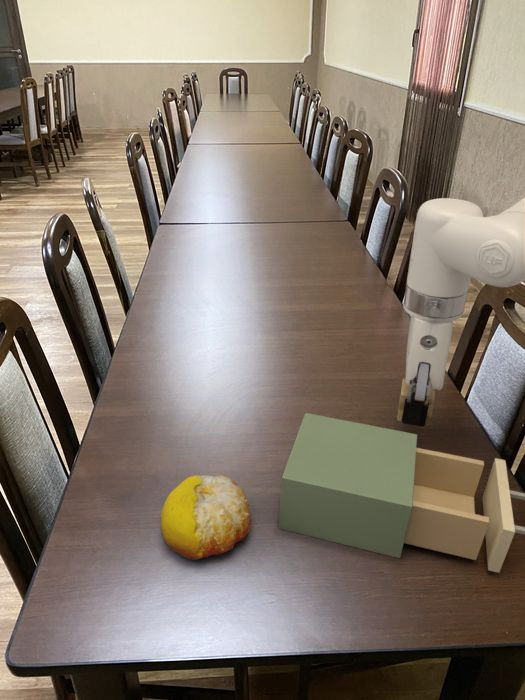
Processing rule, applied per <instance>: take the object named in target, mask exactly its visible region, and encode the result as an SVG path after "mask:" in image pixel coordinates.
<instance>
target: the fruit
mask: <svg viewBox="0 0 525 700" xmlns="http://www.w3.org/2000/svg"><path fill="white" fill-rule="evenodd" d="M249 506H250V504H249V503H248V498H247V496H246V493H245V490H244V489H242V487H240V486H239V485H238V483H236V482H235V480H234V479H232V478H230V477H228V476H227V475H223V474H218V475H216V476H213V475H208V474H203V475H198V474H197V475H191V476H189V477H187V478H185V479H184V480H183V481H182V482H180V484H179V485H177V486H176V487H175V488H174V489H173V490H172V491H170V493H169V495H168V496H167V498H166V500H165V501H164V504H163V506H162V509H161V513H160V528H161V534H162V537H163V539H164V542H165V543H166V545H168V547H169V548H170V549H171V550H172V551H173V552H175V553H176V554H179V555H180V556H182V557H184V558H185V559H189V561H195V560H199V559H202V558H207V557H210V556H220V555H222V554H225V553H226V552H230V551H231V550H232V551H233V550H234V547H235V544H236V543H239V542H240V541H243V540H244V539H245V538H246V537H247V535H248V534H249V532H250V527H251V523H252V522H251V521H252V517H251V510H250V509H249Z"/></svg>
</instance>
